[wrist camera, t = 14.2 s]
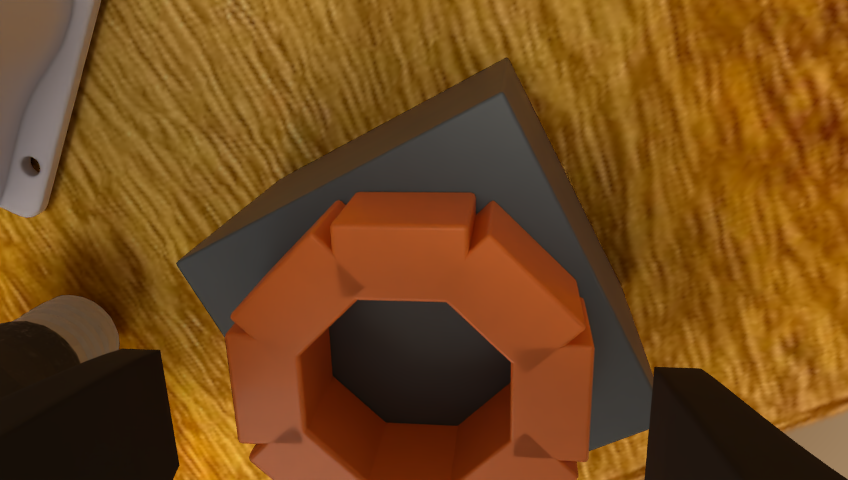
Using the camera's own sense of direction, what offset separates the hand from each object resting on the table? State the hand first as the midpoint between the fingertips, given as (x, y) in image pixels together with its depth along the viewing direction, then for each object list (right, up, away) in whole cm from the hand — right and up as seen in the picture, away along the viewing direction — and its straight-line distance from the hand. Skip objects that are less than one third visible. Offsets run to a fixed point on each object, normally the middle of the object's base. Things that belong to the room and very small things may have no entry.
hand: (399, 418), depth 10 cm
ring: (0, +1, +2) cm, 2 cm away
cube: (+1, +3, +8) cm, 8 cm away
